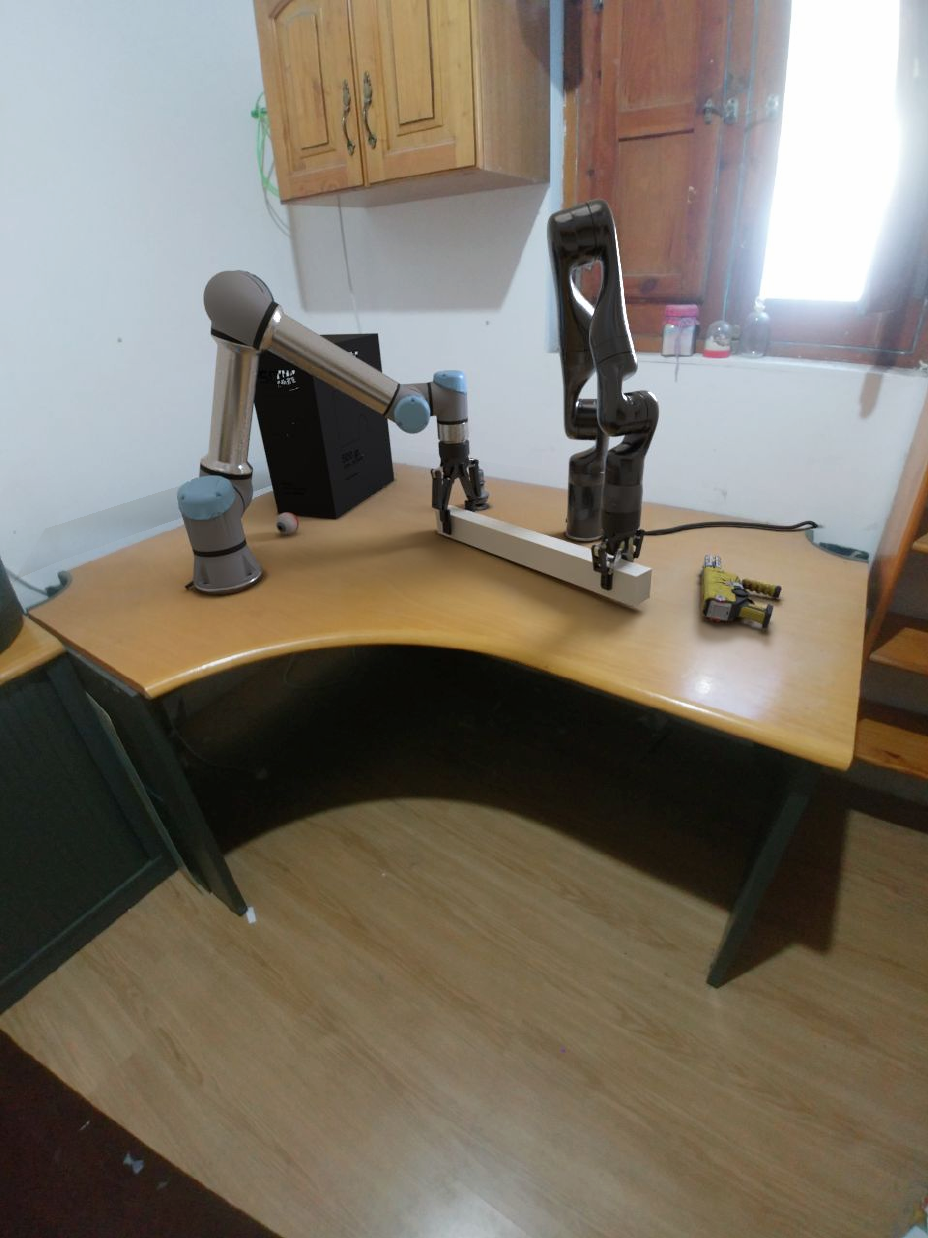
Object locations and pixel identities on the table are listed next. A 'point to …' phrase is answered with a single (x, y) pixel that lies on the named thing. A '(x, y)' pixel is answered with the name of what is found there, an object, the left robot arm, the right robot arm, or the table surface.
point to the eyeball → (287, 523)
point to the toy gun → (732, 595)
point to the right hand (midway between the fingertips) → (615, 584)
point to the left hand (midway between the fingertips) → (458, 528)
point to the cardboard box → (321, 435)
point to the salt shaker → (482, 493)
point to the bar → (548, 555)
